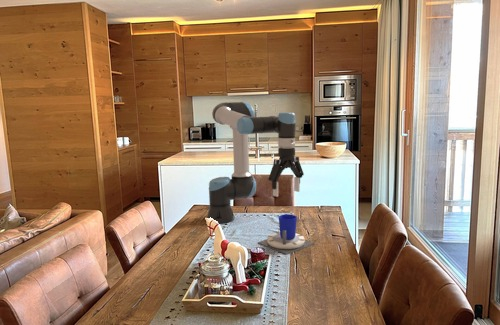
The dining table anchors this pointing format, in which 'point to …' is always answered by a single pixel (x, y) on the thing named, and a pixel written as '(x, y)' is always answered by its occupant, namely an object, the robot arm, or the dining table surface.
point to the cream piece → (285, 241)
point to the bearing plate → (286, 251)
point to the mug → (288, 225)
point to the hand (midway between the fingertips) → (286, 193)
